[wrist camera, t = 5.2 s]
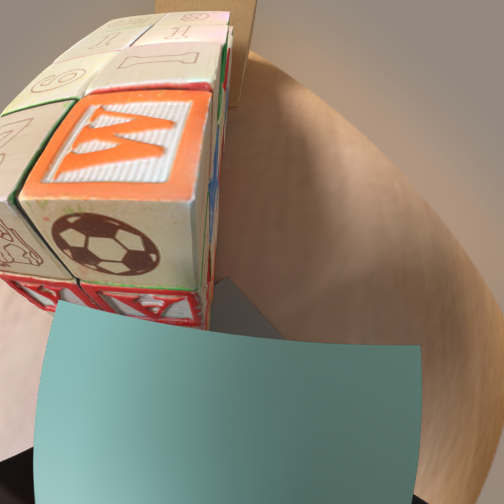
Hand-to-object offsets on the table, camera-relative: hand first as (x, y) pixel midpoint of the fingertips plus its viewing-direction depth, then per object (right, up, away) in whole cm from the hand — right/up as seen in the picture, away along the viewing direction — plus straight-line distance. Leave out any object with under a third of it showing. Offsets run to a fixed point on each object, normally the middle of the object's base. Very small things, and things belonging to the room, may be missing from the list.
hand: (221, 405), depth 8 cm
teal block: (-1, -4, +5) cm, 6 cm away
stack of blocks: (-4, +8, +11) cm, 15 cm away
